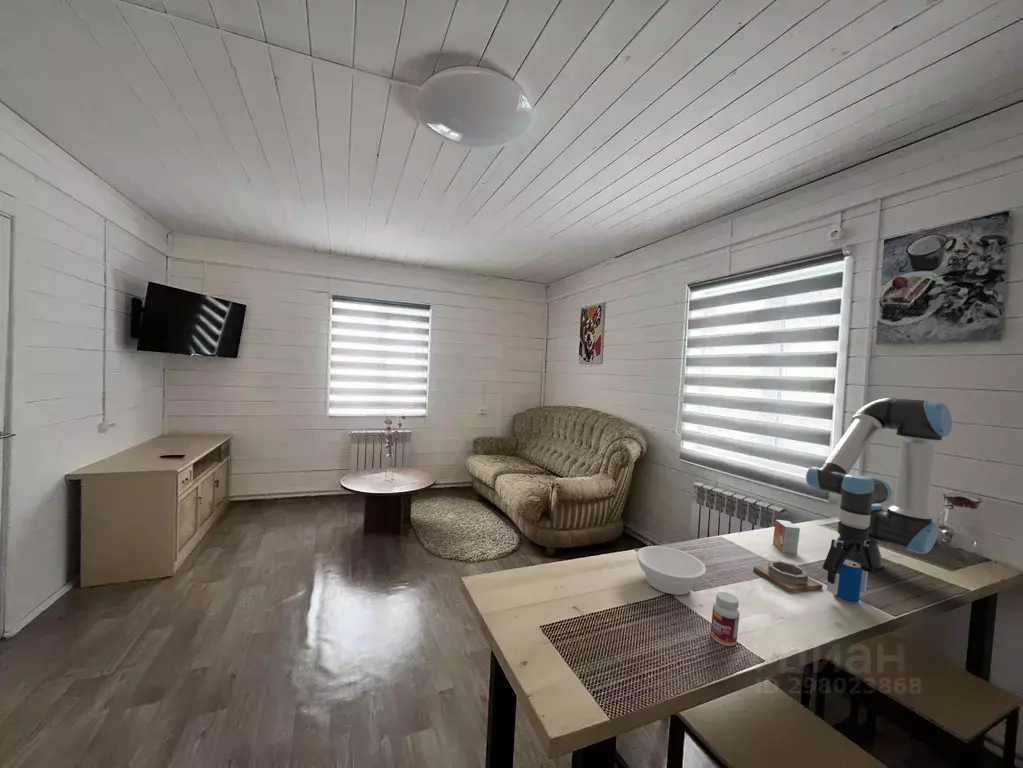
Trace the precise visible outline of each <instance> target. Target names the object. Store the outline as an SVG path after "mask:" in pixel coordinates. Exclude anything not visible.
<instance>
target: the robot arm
mask: <svg viewBox="0 0 1023 768" xmlns="http://www.w3.org/2000/svg"><path fill="white" fill-rule="evenodd" d="M952 421H953V420H952V415H951V411H950V409H949V407H948V406H947V405H946V404H945V403H943V402H938V401H934V400H933V401H932V400H919V399H908V398H896V397H886V398H885V397H884V398H880V399H876V400H873V401H871V402H869V403H867V404H865V405H864V406H862V407H861V408H860V409H858V410H857V411H856V412H855V413H854V414H853V415H852V417H851V418H850V423H851V424H850V426H849V427H848V428H847V430H846V431H845V433H844V434H843V435H842V437H841V438H840V440H838V443H837V444H836V445H835V447H834V448H833V449H832V451H831V452H830V454H829V455H828V457H826V460H825V461H824V462H823V464H822V465H821V466H820V467H818V466H811V467H810V468H808V470H807V471H806V475H805V479H806V484H807V485H808V486H809V487H811V488H815V489H817V490H819V491H825V492H828V493H831V494H836V495H840V505H839V514H838V515H839V516H838V523H837V533H838V534H839V536H838V537H837V540H836V539H835V538H833V539H832V540H831V542H830V548H829V550H828V553H827V555H826V557H825V560H824V562H823V565H822V569H823V570H825V571H827V578H826V580H827V584H826V591H827V592H829V593H831V594H833V596H835V595H837V591H838V582H839V574H837V573H838V571H839V569H840V568H841V566H842V565H843V563H844V561H845V560H846V559H848V560H852V561H854V562H857V563H859V564H860V565H861V569H862V578H861V587H860V592H864V593H867V586H868V585H867V584H868V578H869V573H873V572H874V569H875V570H877V569H882V568H883V562H884V561H883V559H882V554H881V551H880V548H879V542H883V543H885V544H889V545H892V546H895V547H898V548H901V549H904V550H906V551H908V552H913V553H914V552H915V553H917V554H923V555H924V554H927V553H928V552H930V551H931V550H932V549H933V547H934V546H935V543H936V542H937V540H938V536H939V531H940V529H939V525H938V524H936V523H935V522H933V516H932V515H931V514H930V513H929V512H928V506H929V497H930V495H929V494H930V487H931V479H932V471H933V464H934V463H933V462H934V457H935V456H934V454H935V449H936V448H935V446H936V445H937V444H939V443H940V442H942V441H943V437H948V436H949V435H950V434H951V431H952V430H951V429H952V427H953V425H952V424H953V422H952ZM885 429H889V430H895V431H896V437H898V438H899V439H900V451H899V457H898V458H899V459H898V465H897V466H898V467H897V476H896V483H895V490H894V491H895V493H894V499H893V500H894V502H893V504H891V505H889V506H888V507H887V510H886V509H884V506H883V505H882V504H883V503H884V502H885V501H888V500H890V499H891V497H892V494H893V490H892V488H891V486H890V485H889V483H887V482H886V481H884V480H882V479H879V478H871V477H869V476H865V475H860V474H856V473H855V474H853V473H852V474H851V473H850V471H851V470H852V469H853V467H854V466H855V464H856V463H857V462H858V460H859V459H860V457H861V456H862V454H863V453H864V451H865V450H866V448H868V447H867V446H868V445H869V444H870V442H871V441H872V440H873V438H874V436H875V435H877V434H880V433H882V431H883V430H885Z"/></svg>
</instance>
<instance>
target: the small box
mask: <svg viewBox="0 0 1023 768" xmlns="http://www.w3.org/2000/svg"><path fill="white" fill-rule="evenodd" d="M773 530H774V531H773V537H772V539H773V540H772V544H773V546H775V547H777V548H778V550H780V551H781V552H782V553H789V554H795V555H796V554H798V547H799V541H800V540H799V539H800V530H801V529H800V528H799V527H798V526H797V525H795V524H793V523H792V522H791V521H790V520H783V519H775V521H774V529H773Z"/></svg>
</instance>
